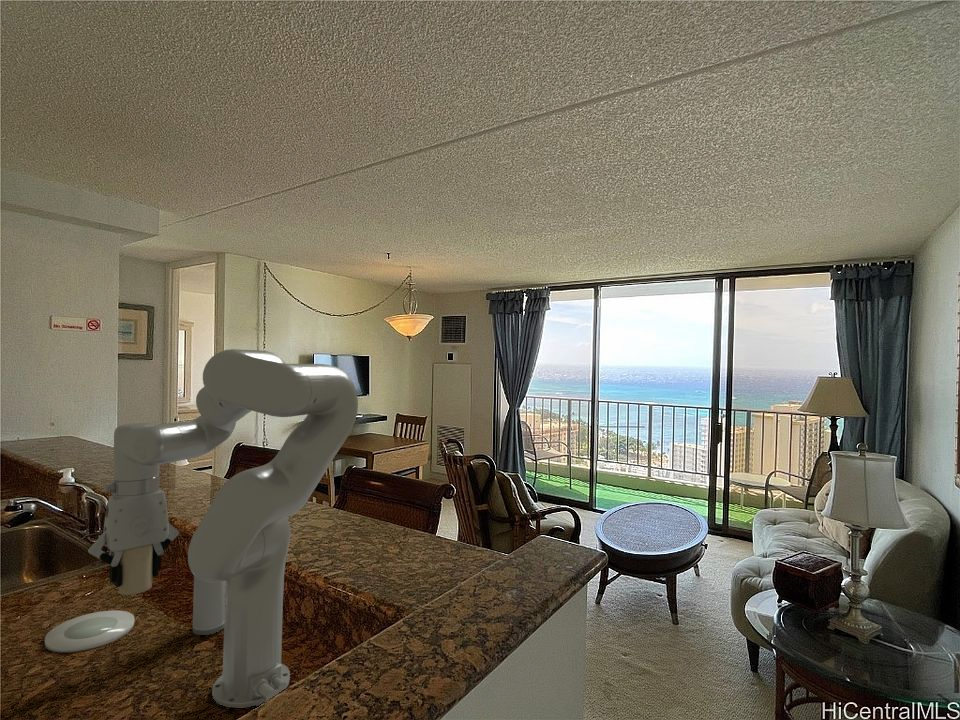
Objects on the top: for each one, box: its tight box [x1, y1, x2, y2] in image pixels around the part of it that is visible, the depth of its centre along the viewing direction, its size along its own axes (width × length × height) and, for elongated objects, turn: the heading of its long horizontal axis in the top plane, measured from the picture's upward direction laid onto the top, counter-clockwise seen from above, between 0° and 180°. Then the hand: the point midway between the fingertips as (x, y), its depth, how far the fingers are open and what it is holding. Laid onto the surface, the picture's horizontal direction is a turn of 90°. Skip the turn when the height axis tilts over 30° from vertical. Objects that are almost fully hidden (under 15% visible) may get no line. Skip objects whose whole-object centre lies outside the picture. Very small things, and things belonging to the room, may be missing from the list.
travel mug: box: [192, 575, 228, 636], centre depth 111 cm, size 6×7×20 cm
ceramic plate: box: [44, 609, 136, 653], centre depth 108 cm, size 15×15×1 cm
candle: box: [118, 544, 153, 596], centre depth 101 cm, size 6×6×10 cm
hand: (135, 578), depth 101 cm, fingers closed on candle, 5 cm apart
